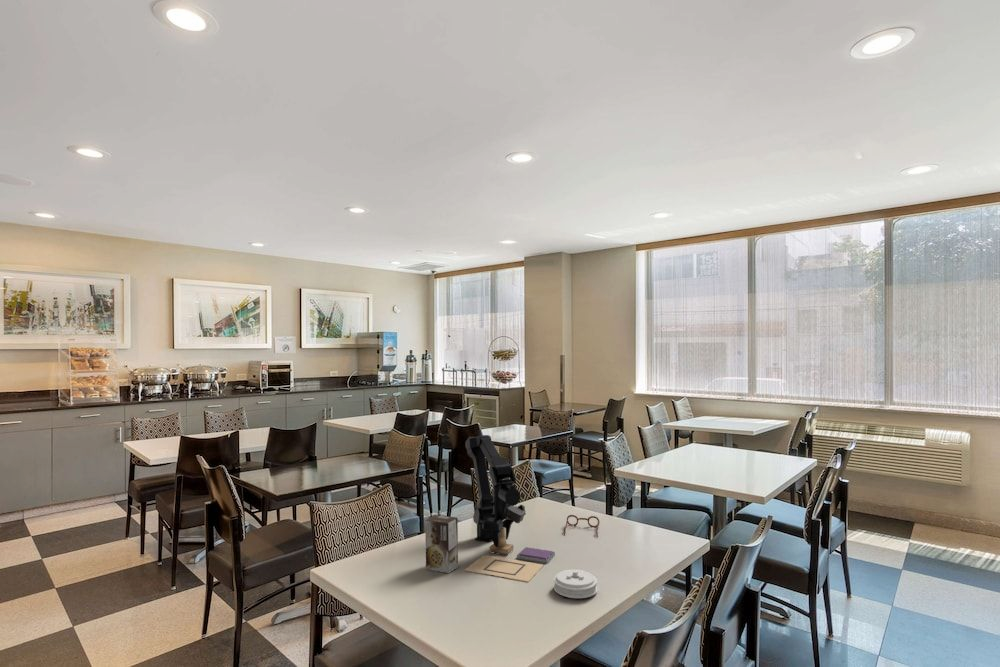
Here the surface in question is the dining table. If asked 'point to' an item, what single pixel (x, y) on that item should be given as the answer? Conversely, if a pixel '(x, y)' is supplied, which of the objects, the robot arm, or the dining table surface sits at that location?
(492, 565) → the stamp board
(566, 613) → the dining table surface
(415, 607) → the dining table surface
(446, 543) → the coffee box
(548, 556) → the ink pad
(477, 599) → the dining table surface
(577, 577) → the lid
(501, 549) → the stamp
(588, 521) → the glasses
